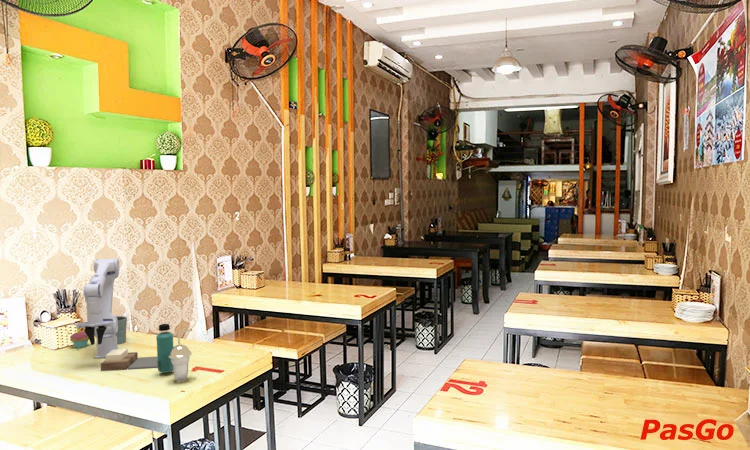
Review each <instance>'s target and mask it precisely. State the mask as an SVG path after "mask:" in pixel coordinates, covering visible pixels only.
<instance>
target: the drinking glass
mask: <svg viewBox="0 0 750 450" xmlns="http://www.w3.org/2000/svg"><path fill="white" fill-rule="evenodd" d="M115 316H116V315H115ZM116 317H117V319H118V332H117V333H116V334H115V335H116V337H117V346H119V345H122V344H124V343H126V342H127V323H128V317H127V316H124V315H118V316H116Z"/></svg>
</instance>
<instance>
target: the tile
mask: <svg viewBox="0 0 750 450" xmlns="http://www.w3.org/2000/svg"><path fill="white" fill-rule="evenodd" d="M128 353H129V351H128V348H120V349H119V348H118V349H117V350H112V351H111V352H109V353H108V354H107V355H106V357H105V360H106V361H121V360H122V359H123V358H125V357H126V356H127V355H128Z"/></svg>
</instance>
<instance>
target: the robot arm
mask: <svg viewBox="0 0 750 450" xmlns="http://www.w3.org/2000/svg"><path fill="white" fill-rule="evenodd" d="M93 271H94V272H95V273H94V274H93V275H92V276H91V277H90V279H89V282H88V283H87V284H85V285H84V287H83V297H84V302H85V303H86V321H85V322H84V321H83V322H76V324H75V328H76V329H77V328H79V329H84V330H83V332H85V333H86V334H87V336H88V338H89V340H88V341H89V342H90V345H91V346H92V345H93V346H94V345H95V343H96V352H97V353H96V355H94V356H93V359H102V358H105V359H106V355H107V354H108V353H109V352H111V351H112V350H117V349H119V348H118V346H119V345H117V337H116V335H115V334H116V333H117V332H118V319H117V317H116V315H114V314H113V313H112V311H113V310H112V309H113V298H114V297H113V296H114V284H115V280H116V279H117V278H119V275H120V260H119V258H117V257H115V258H101V259H100V258H99V259H98V258H96V259H95V260H94V261H93ZM95 339H96V340H95Z"/></svg>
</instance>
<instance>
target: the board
mask: <svg viewBox="0 0 750 450" xmlns="http://www.w3.org/2000/svg"><path fill="white" fill-rule="evenodd" d="M138 356H139V355H138V352H137V351H133V352H128V355H127V356H126V357H125V358H123V359H122V360H121V361H106V359H105V360H103V361H102V362H100V372H104V371H105V372H107V371H125V370H126V371H127V370H129V369H128V367H129V366H130V365H131V364H133V363H134V362H135V361H136V360H137V359H138V358H139V357H138Z"/></svg>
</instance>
